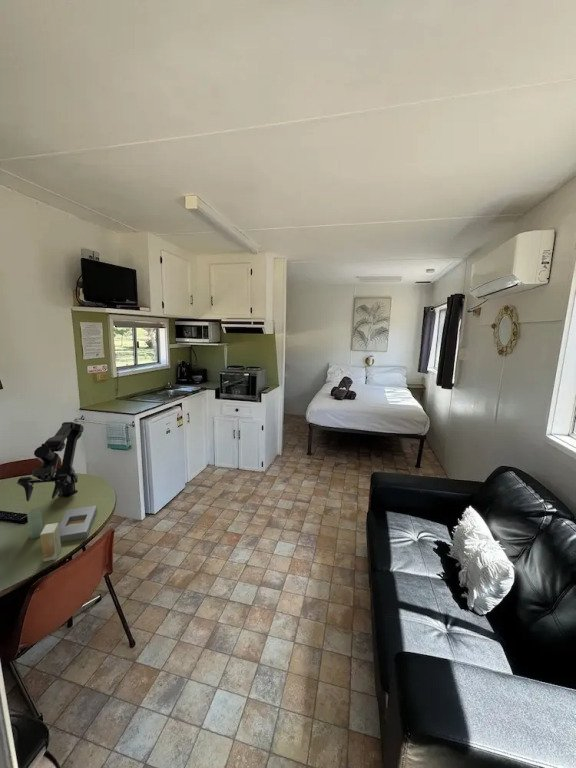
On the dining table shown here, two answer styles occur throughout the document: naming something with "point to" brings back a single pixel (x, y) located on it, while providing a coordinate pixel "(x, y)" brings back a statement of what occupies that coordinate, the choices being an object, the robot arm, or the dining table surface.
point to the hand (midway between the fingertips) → (40, 499)
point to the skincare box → (50, 542)
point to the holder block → (77, 523)
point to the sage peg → (35, 523)
